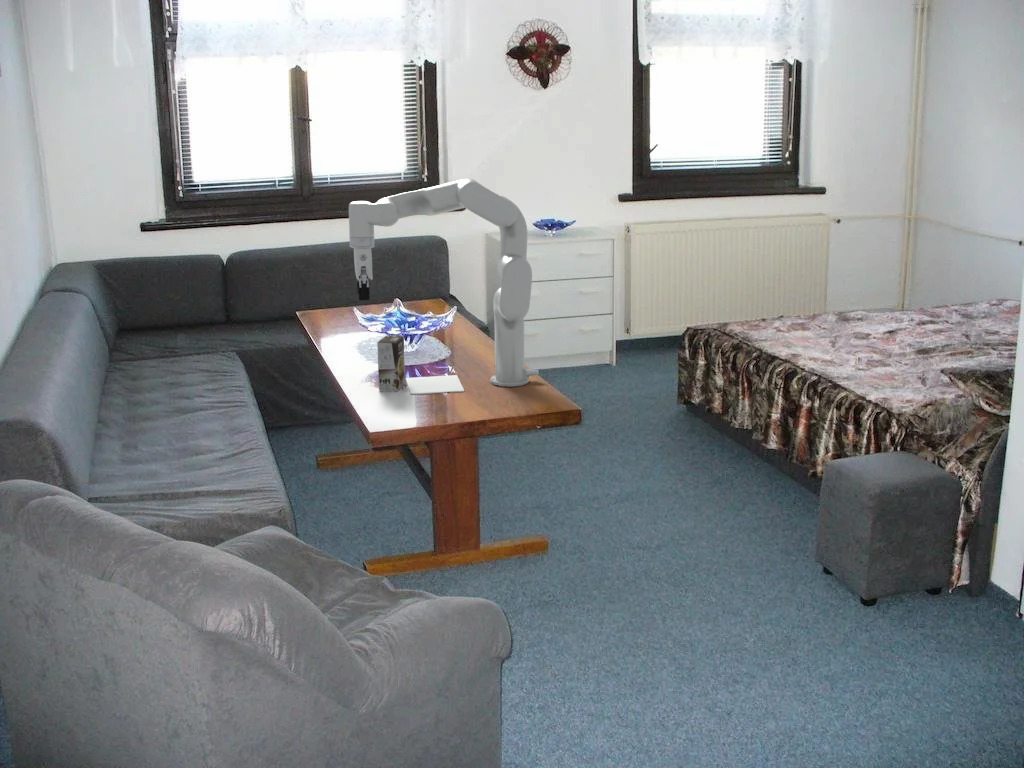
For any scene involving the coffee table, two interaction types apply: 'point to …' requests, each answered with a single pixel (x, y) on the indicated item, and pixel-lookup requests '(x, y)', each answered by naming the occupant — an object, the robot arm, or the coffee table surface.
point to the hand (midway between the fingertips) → (363, 296)
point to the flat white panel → (434, 384)
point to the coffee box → (391, 363)
